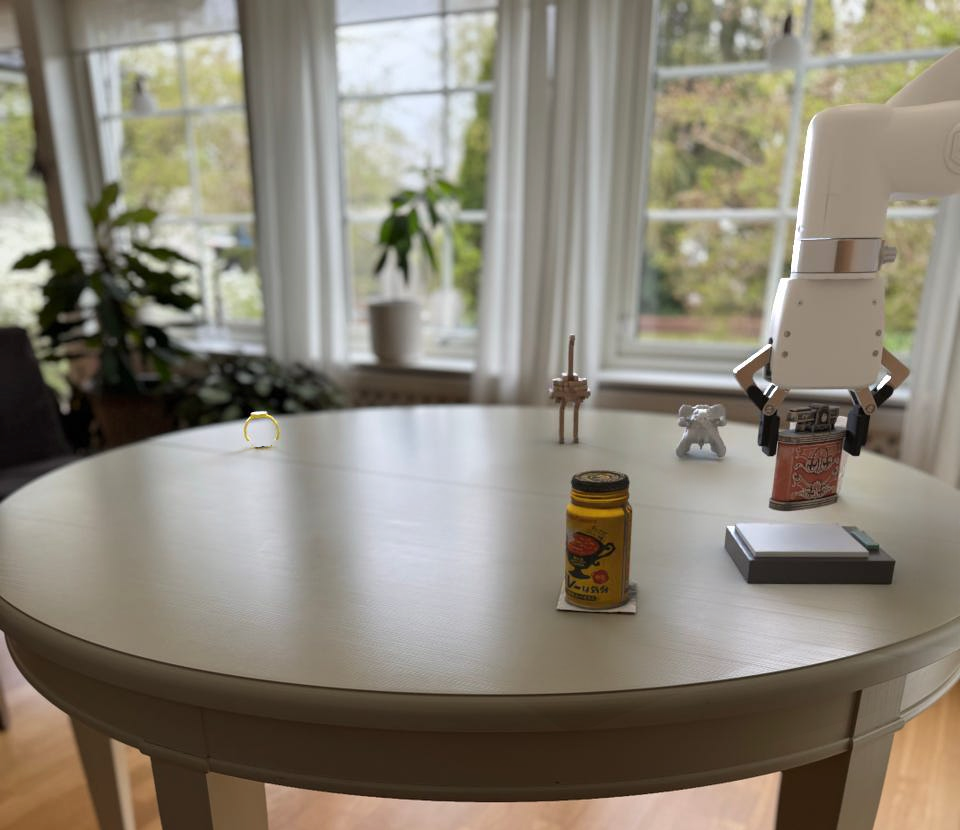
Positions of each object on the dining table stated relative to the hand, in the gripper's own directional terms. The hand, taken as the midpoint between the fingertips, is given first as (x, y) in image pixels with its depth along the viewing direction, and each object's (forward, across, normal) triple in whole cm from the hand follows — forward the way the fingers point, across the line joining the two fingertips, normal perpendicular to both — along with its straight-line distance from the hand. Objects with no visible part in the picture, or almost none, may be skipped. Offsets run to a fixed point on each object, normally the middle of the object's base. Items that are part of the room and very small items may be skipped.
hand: (809, 452), depth 88 cm
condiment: (+12, +21, +10) cm, 26 cm away
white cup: (+12, -10, -29) cm, 33 cm away
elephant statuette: (+12, +1, -56) cm, 57 cm away
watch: (+12, +75, -63) cm, 99 cm away
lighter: (+5, 0, 0) cm, 5 cm away
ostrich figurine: (+12, +22, -71) cm, 75 cm away
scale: (+12, -1, 0) cm, 12 cm away
